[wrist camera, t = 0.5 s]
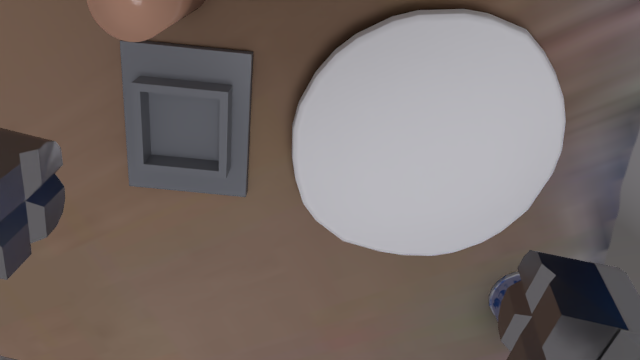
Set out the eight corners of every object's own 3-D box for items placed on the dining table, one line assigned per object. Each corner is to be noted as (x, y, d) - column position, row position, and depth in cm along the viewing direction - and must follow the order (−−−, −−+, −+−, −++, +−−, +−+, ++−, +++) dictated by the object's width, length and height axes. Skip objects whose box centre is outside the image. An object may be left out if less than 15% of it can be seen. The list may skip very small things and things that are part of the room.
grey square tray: (124, 38, 54) (110, 46, 50) (253, 51, 54) (247, 60, 51) (132, 181, 61) (120, 196, 57) (247, 192, 61) (242, 208, 58)
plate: (573, -21, 46) (577, 235, 57) (538, -26, 52) (549, 207, 63) (258, 56, 47) (324, 296, 58) (260, 43, 53) (319, 263, 64)
